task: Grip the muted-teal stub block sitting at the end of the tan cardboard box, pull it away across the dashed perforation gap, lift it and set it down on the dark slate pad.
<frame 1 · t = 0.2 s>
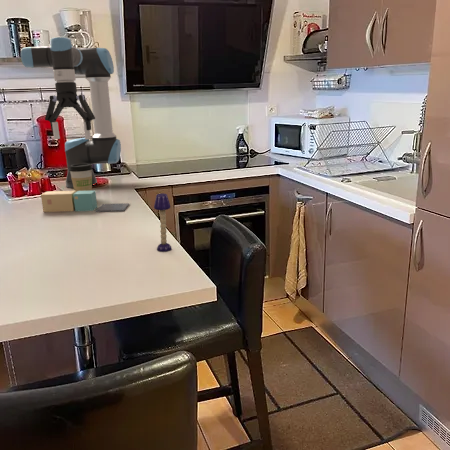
hand: (72, 139, 180), 28 cm above the countertop, fingers open, 13 cm apart
stub: (86, 209, 187), on the countertop
tan cardboard box: (61, 209, 187), on the countertop
coffee cup: (84, 199, 204), on the countertop
pad: (112, 208, 187), on the countertop
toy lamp: (165, 250, 136), on the countertop
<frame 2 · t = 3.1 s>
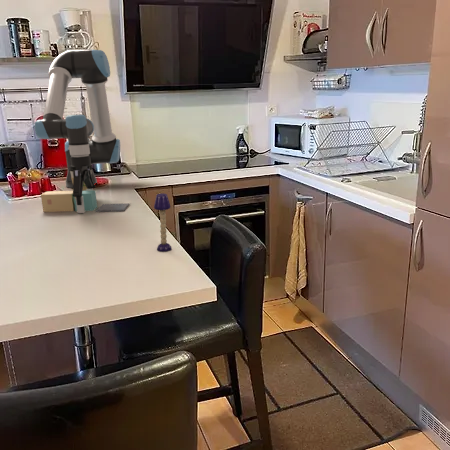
hand: (86, 208, 187), 0 cm above the countertop, fingers open, 13 cm apart
nothing on the countertop moved.
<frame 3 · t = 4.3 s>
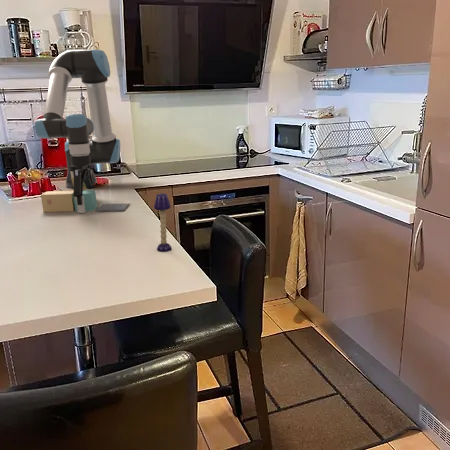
hand: (86, 208, 187), 0 cm above the countertop, fingers open, 12 cm apart
nothing on the countertop moved.
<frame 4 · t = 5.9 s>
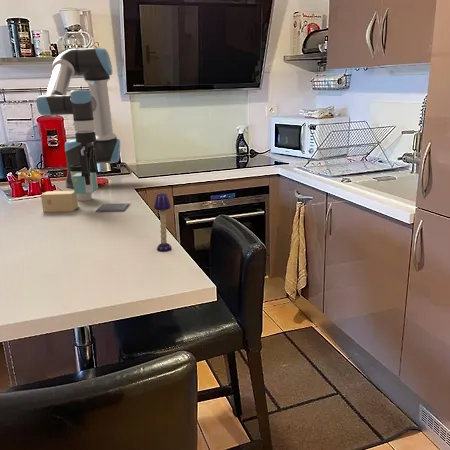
hand: (92, 190, 185), 7 cm above the countertop, fingers closed on stub, 6 cm apart
stub: (85, 191, 185), point 7 cm above the countertop, touching gripper
everything else where it was.
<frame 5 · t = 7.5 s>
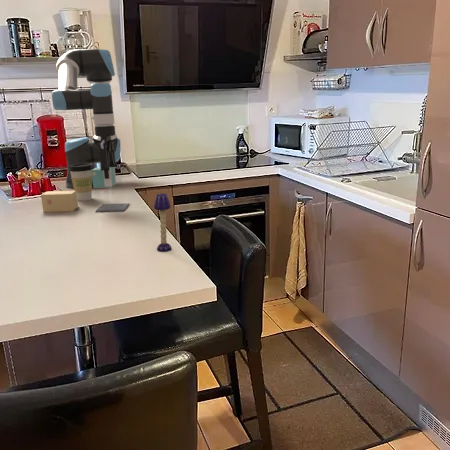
hand: (110, 184, 184), 10 cm above the countertop, fingers closed on stub, 6 cm apart
stub: (104, 186, 184), point 9 cm above the countertop, touching gripper
everything else where it was.
when the fingers open (1 cm above the countertop, at t = 9.4 s): stub stays where it is, resting on pad.
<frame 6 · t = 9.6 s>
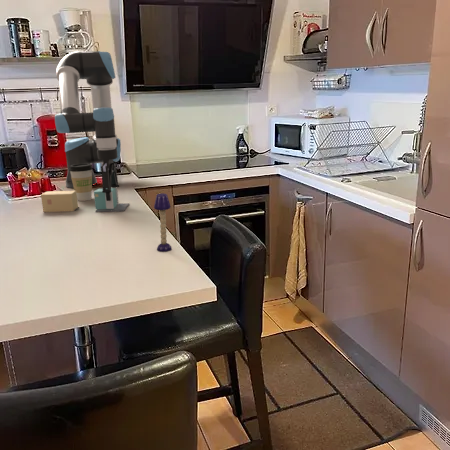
hand: (112, 205, 186), 1 cm above the countertop, fingers open, 8 cm apart
stub: (106, 207, 186), point 1 cm above the countertop, touching pad
everything else where it was.
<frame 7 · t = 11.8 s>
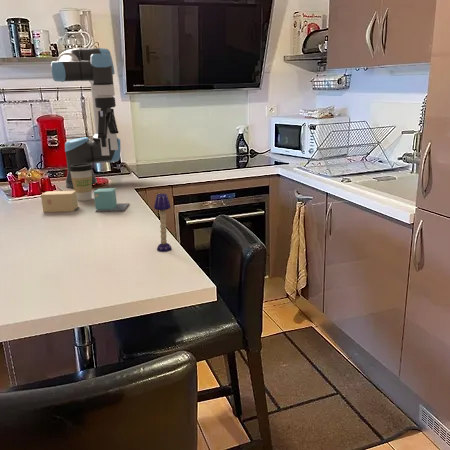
hand: (110, 152, 183), 22 cm above the countertop, fingers open, 13 cm apart
nothing on the countertop moved.
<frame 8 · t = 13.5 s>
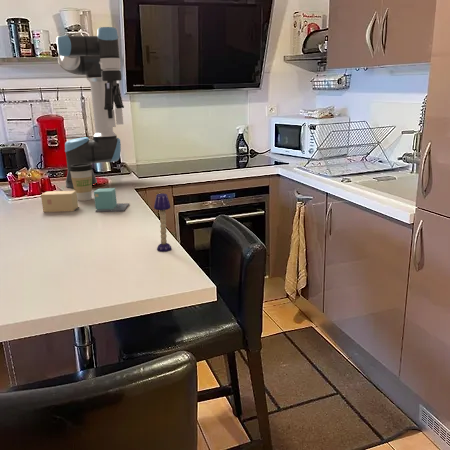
hand: (116, 125, 187), 32 cm above the countertop, fingers open, 13 cm apart
nothing on the countertop moved.
at the end: stub inside the target area on the pad (2.5 cm from its centre), point 0.6 cm above the pad's base; stub tilted 0°; the gripper is holding nothing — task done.
